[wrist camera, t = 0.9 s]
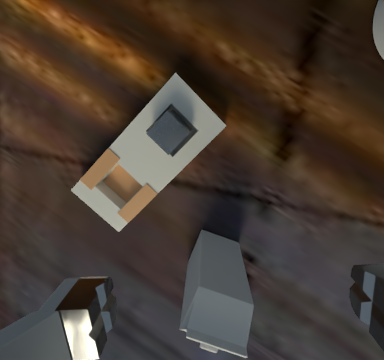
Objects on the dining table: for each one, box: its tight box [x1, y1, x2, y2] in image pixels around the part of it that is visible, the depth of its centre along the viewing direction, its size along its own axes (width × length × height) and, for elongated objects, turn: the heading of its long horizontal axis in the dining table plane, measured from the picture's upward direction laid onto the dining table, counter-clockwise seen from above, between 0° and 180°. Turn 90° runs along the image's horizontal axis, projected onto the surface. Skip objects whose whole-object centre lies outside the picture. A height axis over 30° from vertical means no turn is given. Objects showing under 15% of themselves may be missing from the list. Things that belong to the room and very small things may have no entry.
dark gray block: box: [146, 111, 193, 155], centre depth 36 cm, size 4×4×7 cm
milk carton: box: [180, 230, 254, 358], centre depth 36 cm, size 7×7×19 cm
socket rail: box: [71, 73, 226, 232], centre depth 39 cm, size 24×10×4 cm, turn 135°
